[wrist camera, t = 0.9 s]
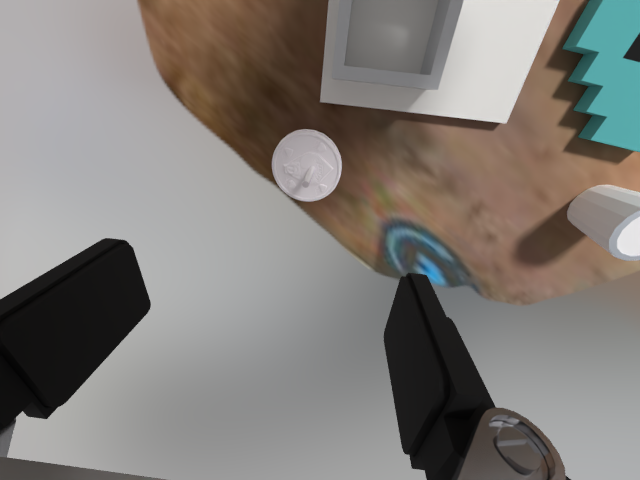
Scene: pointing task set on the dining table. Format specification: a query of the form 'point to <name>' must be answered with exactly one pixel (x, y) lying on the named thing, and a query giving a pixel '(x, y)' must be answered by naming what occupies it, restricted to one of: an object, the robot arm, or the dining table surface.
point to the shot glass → (609, 219)
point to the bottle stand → (432, 54)
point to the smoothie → (307, 165)
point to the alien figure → (609, 71)
